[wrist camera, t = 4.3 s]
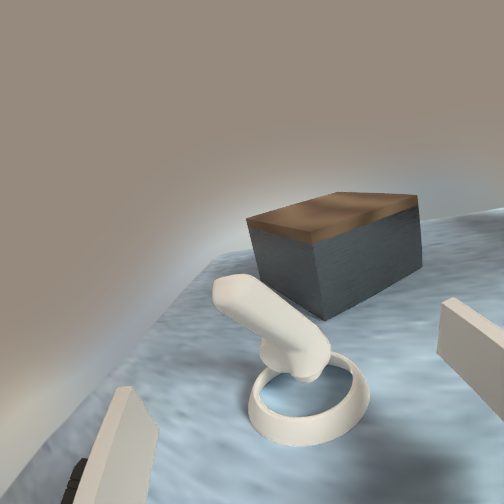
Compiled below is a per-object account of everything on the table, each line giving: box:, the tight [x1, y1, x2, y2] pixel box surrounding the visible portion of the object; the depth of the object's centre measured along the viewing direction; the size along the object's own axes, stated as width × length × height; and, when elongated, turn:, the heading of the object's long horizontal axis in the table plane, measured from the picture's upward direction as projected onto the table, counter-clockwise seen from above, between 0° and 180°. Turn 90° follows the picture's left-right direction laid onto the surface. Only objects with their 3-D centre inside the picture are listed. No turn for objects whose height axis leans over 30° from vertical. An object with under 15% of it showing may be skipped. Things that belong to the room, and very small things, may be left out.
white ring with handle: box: [212, 274, 370, 447], centre depth 15 cm, size 8×12×7 cm
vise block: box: [246, 192, 422, 321], centre depth 32 cm, size 14×14×8 cm
